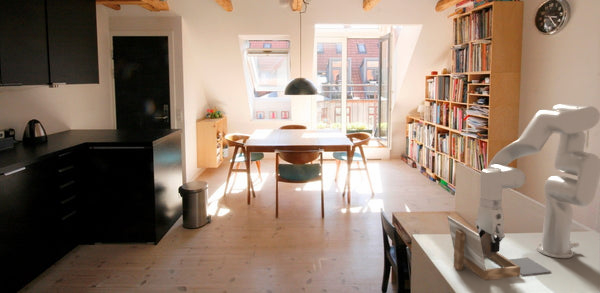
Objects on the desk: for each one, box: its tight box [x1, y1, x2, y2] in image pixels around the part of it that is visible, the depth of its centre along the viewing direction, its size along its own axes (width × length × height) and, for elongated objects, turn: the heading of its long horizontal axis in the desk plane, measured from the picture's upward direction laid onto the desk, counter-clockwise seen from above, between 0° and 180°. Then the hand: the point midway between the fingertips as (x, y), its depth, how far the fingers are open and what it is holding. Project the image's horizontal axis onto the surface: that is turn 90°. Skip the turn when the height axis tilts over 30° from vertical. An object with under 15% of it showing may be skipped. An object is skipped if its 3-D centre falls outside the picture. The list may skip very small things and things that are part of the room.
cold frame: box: [446, 215, 521, 281], centre depth 158 cm, size 19×20×17 cm
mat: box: [508, 257, 552, 277], centre depth 158 cm, size 12×12×1 cm
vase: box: [480, 232, 497, 257], centre depth 158 cm, size 7×7×9 cm
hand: (488, 247), depth 159 cm, fingers closed on vase, 6 cm apart
